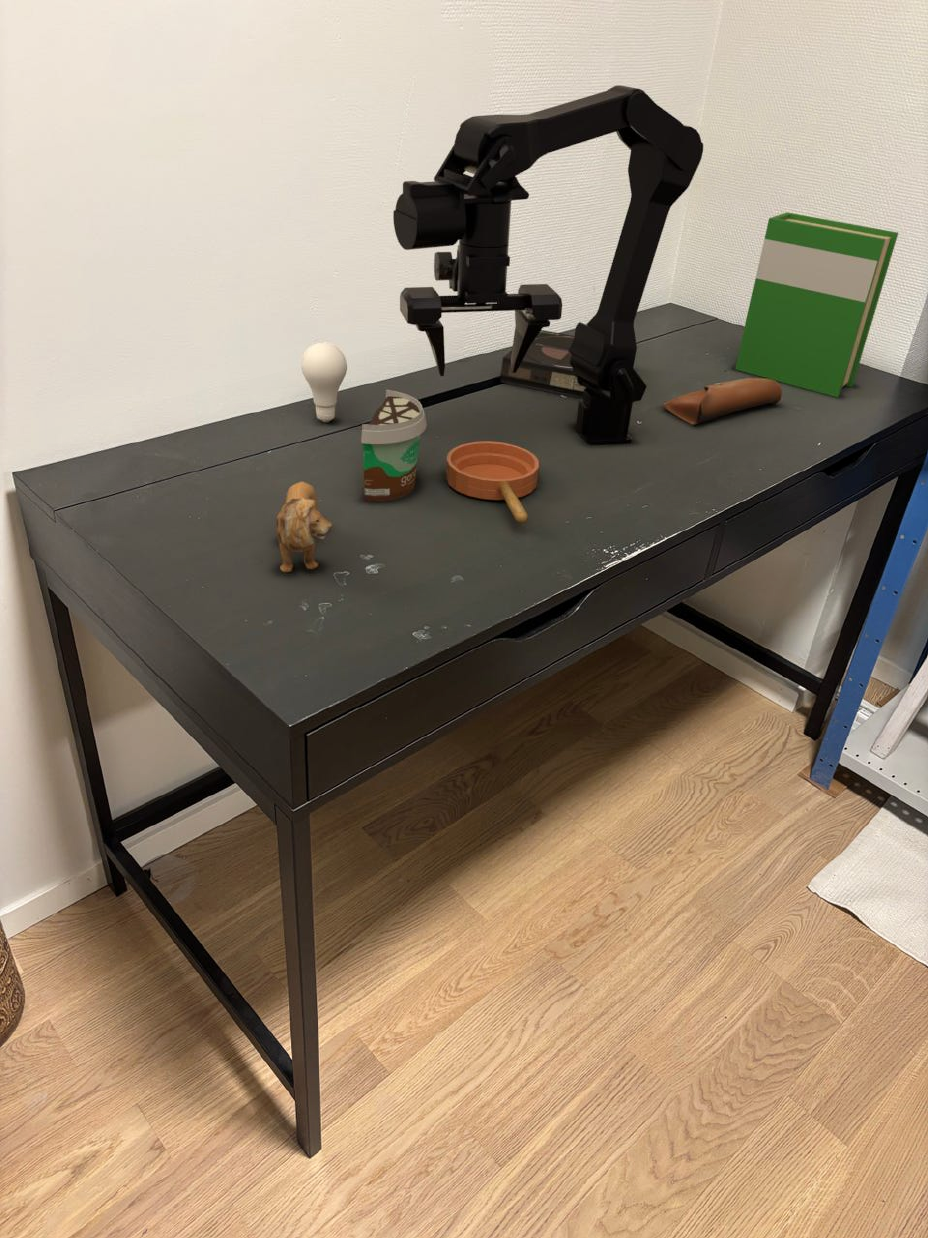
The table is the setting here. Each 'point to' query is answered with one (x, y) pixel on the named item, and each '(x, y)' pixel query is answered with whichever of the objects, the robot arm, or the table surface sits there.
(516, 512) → the pan handle
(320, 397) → the lightbulb
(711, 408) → the sunglasses case
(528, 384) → the portable cd player
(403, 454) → the food container
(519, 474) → the pan
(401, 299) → the robot arm
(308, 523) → the lion figurine
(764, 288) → the hardback book
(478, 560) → the table surface
